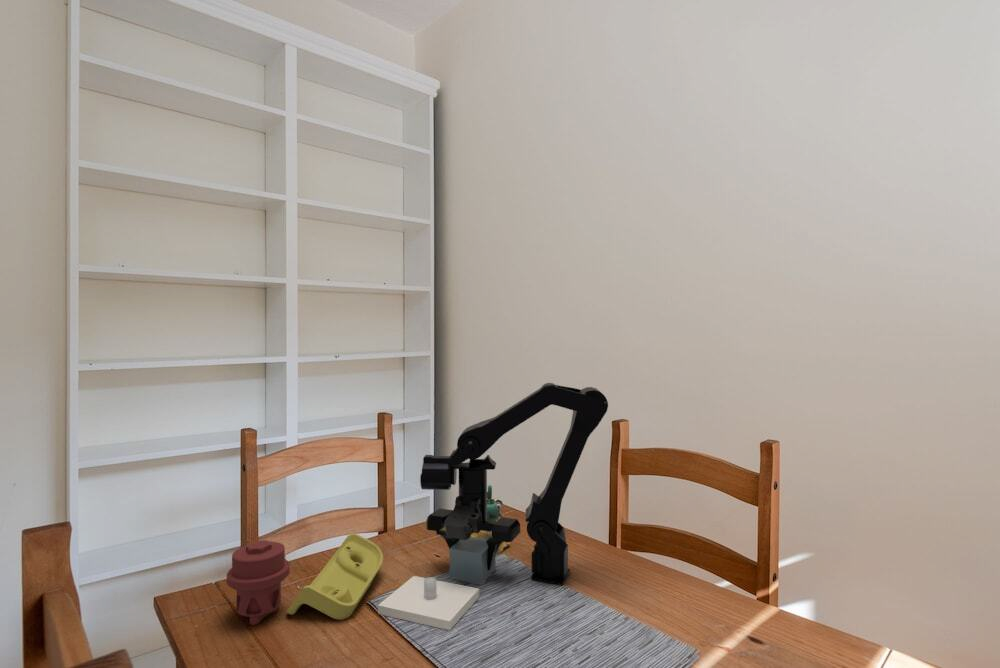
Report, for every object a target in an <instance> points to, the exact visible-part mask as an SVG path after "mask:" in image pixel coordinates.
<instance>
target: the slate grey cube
mask: <svg viewBox="0 0 1000 668" xmlns="http://www.w3.org/2000/svg"><path fill="white" fill-rule="evenodd" d="M486 541H487V539H481V538H475V537H470V538H469V539H467V540H461V539H460V540H459V541H458V542H457V543H456V544H454V545H453V546H452V547H451V548H450V550H449V579H451V580H455V581H460V582H466V583H471V584H477V585H483V584H484V583H485V582H486V581H487V579H488V578H489V577H490V576H491V575H492V574H493V573H494V572H495V571H496V559H495V560H494V563H493V565H492V568H491V569H490V570H488V567H487V558H488V544H487V542H486Z"/></svg>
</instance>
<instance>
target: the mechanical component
mask: <svg viewBox="0 0 1000 668" xmlns="http://www.w3.org/2000/svg"><path fill="white" fill-rule="evenodd" d="M285 547H286V546H285V545H284V544H283V543H280V542H278V541H270V540H265V539H264V540H263V539H262V540H260V539H259V540H256V541H252V542H250V543H248V544H246V545H244V546H241V547H239V548H237V549H236V550H235V551H234V552H233V553H232V554H231V568H230V569H229V570H228V571H227V573H226V585H227V586H228V587H229V588H231V589H233V590H235V591H236V613H237V614H239V615H240V616H243V617H247V618H248V617H249V625H252V626H256V625H258V624H259V623H260V622H261V621H262V620H264V618H266V617H267V616H269V615H270V614H273V613H275V612H278V611H279V608H280V605H281V602H282V595H281V594H282V587H281V586H282V585H281V583H282V582H284V580H286V578H287V577H288V576H289V575H290V573H291V564H290V562H289V560H287V559H286V556H285V555H286V554H285V552H286V551H285V549H286V548H285Z"/></svg>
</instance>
